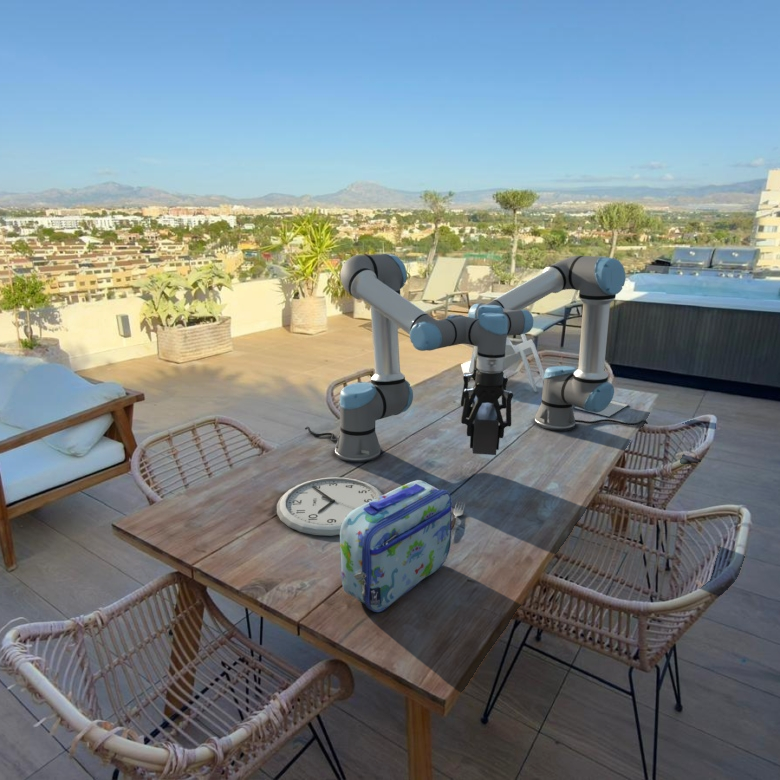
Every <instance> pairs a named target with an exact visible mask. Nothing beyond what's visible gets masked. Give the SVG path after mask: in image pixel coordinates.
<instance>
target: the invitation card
mask: <svg viewBox="0 0 780 780" xmlns="http://www.w3.org/2000/svg"><path fill="white" fill-rule="evenodd" d="M628 406H629V404H627V403H623V402H618V401H614V400H611V402H610V404H609V405H608V406H607V407H606V408H605V409H604V410H603V411H601V412H597V413H595V412H591V411H586V410H584V409H582V408H579V407H576V406H574V407H573V409H575V410H581V411H584V412H587V413H593V414H596V415H600V416H604V417H608V418H609V417H611V416H613V415H614V414H616V413H617V412H619V411H621V410H623V409H624V408H626V407H628Z"/></svg>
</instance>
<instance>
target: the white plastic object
mask: <svg viewBox="0 0 780 780" xmlns="http://www.w3.org/2000/svg"><path fill="white" fill-rule="evenodd" d="M520 337H521V339H522V342H520V343H517V344H513V342H512V341H511V339H510V338H507V339H506V348H505V362H504V370H503V372H505V371H506V370H507V369H509V368H510V367H512V366H513V365H514V364H516V363H517V362H519V361H520V360H522V362H523V363H522V364H523V367H524V369H525V372H526V376H527V379H528V382H529V385H530V387H532V389H533V390H534V392H537V386H536V383H535V379H534V376H533V373H532V370H531V367H530V364H529V360H528V358H527V356H528V355H531V354H533V357H534V360H535V363H536V367H537V369H538V372H539V375H540V378H541V381H542V383H543V380H544V379H543V378H544V375H545V370H544V368H543V365H542V361H541V358H540V356H539V354H538V350H537V347H536V344H535V342H534V341H533V339H532V338H530V339H528V338H527V336H526V333H525V334H521V335H520ZM527 339H528V340H527ZM475 357H476V356H475V346H473V348H472V353H471V356H470V360H468V361H465V362H464V363H461V364H460V366H461V371H462V374H463V375H464V374H466V375H468V374H472V372H473V369H474V358H475Z"/></svg>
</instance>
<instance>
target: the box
mask: <svg viewBox="0 0 780 780" xmlns="http://www.w3.org/2000/svg"><path fill="white" fill-rule="evenodd" d="M476 400H477V396H475V398H474V400H473V403H472V405H471V407H472V408H474V405H475V403H476ZM472 424H474V437H473V448H471V450H472V455H474V454H475V455H489V456H497V451H498V450H497V439H498V427H499V425H500V424H499V418H498V417H497V413H496V410H495V407H494V403H488V402H487V403H482V405H481V406H480V408H479V410H478V413H477V415H476V417H475V419H474V421H473V423H472Z"/></svg>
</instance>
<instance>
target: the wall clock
mask: <svg viewBox="0 0 780 780" xmlns="http://www.w3.org/2000/svg"><path fill="white" fill-rule="evenodd" d="M384 494H385V493H383V492H382V491H381V490H380V489H379V488H377V487H376V486H374V485H372V484H371V483H369V482H365V481H362V480H359V479H355V478H349V477H338V476H337V477H335V476H333V477H332V476H331V477H322V478H317V479H312V480H307V481H305V482H302V483H299V484H297V485H295V486H293V487H292V488H290V489H288V490H287V491H286V492H285V493H284V494H283V495H281V496H280V498H279V499H278V502H277V503H276V515H277V517H278V518H279V520H280V521H281V522H282V523H283V524H285V525H286V526H287V527H288V528H290V529H293V530H295V531H297V532H299V533H303V534H308V535H312V536H327V537H328V536H329V537H331V536H332V537H333V536H340V530H341V526H342V523H343V521H344V519H345V518H346V516H347V515H348V514H349V513H350V512H351V511H353V510H354V509H356V508H358V507H360V506H362V505H364V504H366V503H368V502H370V501H372V500H374V499H376V498H378V497H380V496H382V495H384Z"/></svg>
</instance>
